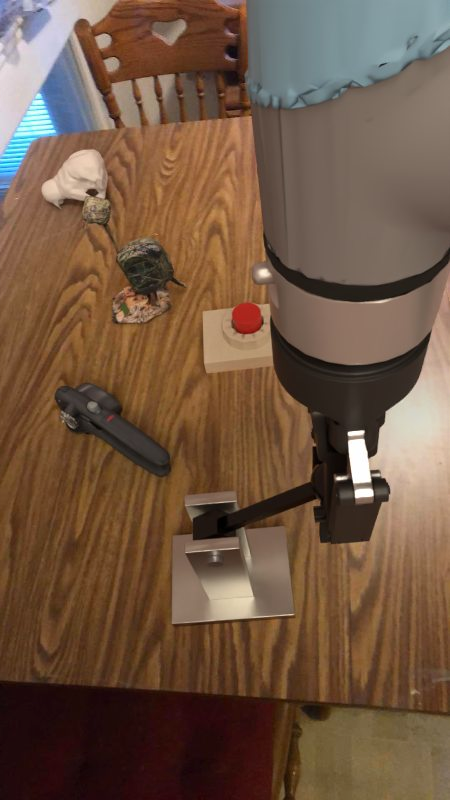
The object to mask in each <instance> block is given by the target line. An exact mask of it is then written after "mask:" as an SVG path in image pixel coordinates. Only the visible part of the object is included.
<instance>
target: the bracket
mask: <svg viewBox="0 0 450 800" xmlns="http://www.w3.org/2000/svg"><path fill="white" fill-rule="evenodd" d="M184 508H185V510H186V512H187V515H188V517H189V520H190V521H191V524H192V525H193V518H194V517H196V516H199V515H201V514H204V513H206V512H208V511H211V510H213V509H216V508H217V509H220V510H222V511H224V512H227V513H229V514H230V513H233V512H235V511H238V510H240V509H242V507H241V503H240V499H239V495H238V491H237V490H228V491H218V492H217V491H216V492H206V493H205V492H204V493H195V494H185V495H184ZM171 537H172V539H171V543H172V544H171V546H172V547H171V616H170V617H171V626H172V627H174V628H178V627H188V626H189V627H192V626H203V625H217V624H230V623H245V622H257V621H258V622H259V621H269V620H270V621H271V620H283V619H284V620H285V619H295V618H296V613H295V602H294V593H293V585H292V574H291V566H290V565H291V564H290V557H289V556H290V555H289V548H288V539H287V537H288V536H287V529H286V525H280V526H269V527H255V528H246V526H245V527H242V528H240V529H237V530H236V537H228V538H216V539H205V540H193V533H189V534H188V533H187V534H175V535H172V536H171Z"/></svg>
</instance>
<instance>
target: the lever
mask: <svg viewBox="0 0 450 800" xmlns="http://www.w3.org/2000/svg"><path fill="white" fill-rule="evenodd" d="M320 499H324V462H322V461H320V462H319V463H318V464H317V465H316V466H315V468H314V469H313V471H312V470H311V473H310V480H309V481H307V482H305V483H303V484H300V485H298V486H295V487H293V488H290V489H288V490H285V491H283V492H280V493H277V494H275V495H272V496H270V497H268V498H265V499H263V500H260V501H258V502H255V503H253V504H251V505H248V506H246V507H243V508H241V509H240V510H238V511H235V512H233V513H230V514H229V513H227V512H224V511H222V510H220V509H217V508H216V509H213V510H211V511H208V512H206V513H204V514H201V515H199V516H196V517H194V518H193V524H192V534H193V540H205V539H216V538H228V537H236V530H237V529H240V528H242V527H245V528H246V527H247V526H250V525H253V524H256V523H257V522H261V521H263V520H266V519H268V518H271V517H273V516H276V515H279V514H281V513H284V512H286V511H290V510H293V509H295V508H297V507H300V506H303V505H305V504H308V503H310V502H313V501H316V500H318V501H319V502H320Z"/></svg>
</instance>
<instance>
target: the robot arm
mask: <svg viewBox="0 0 450 800" xmlns="http://www.w3.org/2000/svg"><path fill="white" fill-rule="evenodd" d="M245 8H246V39H247V41H246V42H247V43H246V44H247V70H246V71H245V72H244V76H243V77H244V88H245V89H244V90H245V91H246V97H247V99H248V100H249V106H250V107H249V108H250V114H251V125H252V133H253V134H252V135H253V136H252V137H253V145H254V155H255V163H256V173H257V183H258V193H259V203H260V209H261V210H260V212H261V221H262V239H263V247H264V254H265V255H264V256H265V260H264V261H259V262H255V263H253V265H252V266H251V279H252V282H253V283H254V284H255V285H257V286H267V288H268V289H267V290H268V300H269V301H268V302H269V303H268V304H270V313H271V315H270V332H271V343H272V355H273V364H274V366H273V369H274V373H275V375H276V377H277V379H278V381H279V383H280V385H281V386H282V388H283V389H284V390H285V391H286V393H287V394H288V395H289V396H291V397H292V398H293V399H294V401H297V403H299V404H301V405H302V406H303V407H305V408H307V414H308V415H309V416H310V420H311V425H312V428H311V432H310V438H311V439H312V440H313V443H314V444H315V445H313V446H311V448H312V449H311V451H312V452H311V456H312V457H311V472H312V471H313V469H314V468H315V466H316V465H317V464H318V463H319V462H320V461H322V462H324V499H320V501H319V505H313V506H312V511H313V519H314V523H315V524H317V523H318V524H319V525H318V538H319V543H320V544H328V543H330V545H341V544H353V543H365V542H370V541H371V537H372V534H373V531H374V528H375V526H376V522H377V519H378V516H379V513H380V509H381V507H382V503H388V502H389V501H390V495H391V485H390V484H389V482H388V481H387V479H386V477H383V476H382V471H381V470H380V469H370V462H369V460H370V459H372V458H373V457H375V456H376V455H377V454H378V448H379V438H380V429H381V428H382V427H383V426H384V425H385V423H386V416H387V412H388V411H389V410H391V409H392V408H393V407H394V406H396V405H398V403H400V402H401V401H403V400H404V399H405V398H406V397H407V396H408V395H409V394H410V393H411V391H412V390H413V389H414V387H415V386H416V384H417V383H418V381H419V379H420V377H421V373H422V371H423V367H424V363H425V359H426V355H427V351H428V348H429V343H430V339H431V336H432V332H433V328H434V325H435V322H436V320H437V317H438V314H439V311H440V307H441V304H442V300H443V297H444V292H445V290H446V286H447V282H448V278H449V275H450V0H245Z"/></svg>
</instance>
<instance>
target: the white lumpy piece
mask: <svg viewBox="0 0 450 800" xmlns="http://www.w3.org/2000/svg"><path fill="white" fill-rule="evenodd" d="M108 180H109V175H108V171H107V168H106V164H105V159H104V158H103V157H102V155H101V153H100V152H99V151H98V150H96V149H92V148H91V149H90V148H89V149H81V150H77V151H75V152H74V153H72V154H71V155H70V156H69V157H68V158H67V159H66V160H65V161H64V162H63V163H62V166H61V167H60V168H59V169H58V170H57V173H56V174H55V175H54V176H53V178H50V179H47V180H46V181H44V182H43V183H42V185H41V189H40V190H41V195H42V197H43V199H44V200H45V201H46V202H49V203H51V204H53V205H55V206H56V207H57V208H59V209H61V205H62V204H64V200H66V199H69V200H77V201H80V202H84V200H85V197H86V196H91V195H89V194H88V193H86V192H88V191H89V190H95V191H96V192H97V194H96V195H95V196H96V197H100V198H102V199H104V200H106V198H107V197H106V196H107V195H106V193H107V188H108Z"/></svg>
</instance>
